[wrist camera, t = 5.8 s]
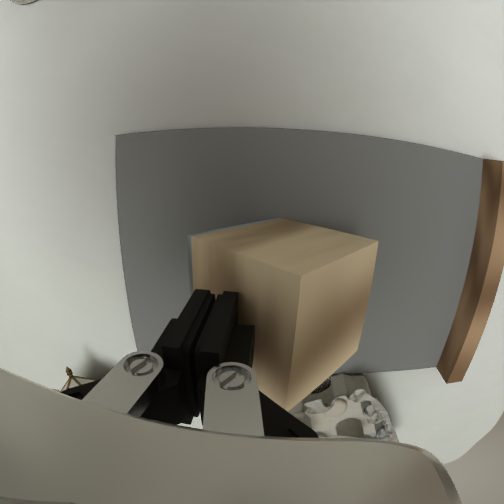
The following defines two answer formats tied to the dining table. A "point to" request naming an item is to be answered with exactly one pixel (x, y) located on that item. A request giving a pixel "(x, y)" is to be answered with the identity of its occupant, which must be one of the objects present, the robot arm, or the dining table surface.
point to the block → (290, 296)
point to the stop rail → (478, 277)
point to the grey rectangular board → (305, 211)
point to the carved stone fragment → (346, 411)
